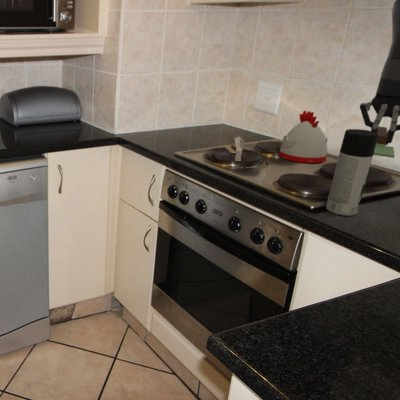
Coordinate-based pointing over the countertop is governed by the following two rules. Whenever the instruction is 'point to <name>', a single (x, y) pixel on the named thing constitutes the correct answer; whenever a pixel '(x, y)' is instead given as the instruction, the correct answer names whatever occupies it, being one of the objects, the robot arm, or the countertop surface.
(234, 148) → the architectural model
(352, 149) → the spray can
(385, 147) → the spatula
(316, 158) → the kitchen timer
